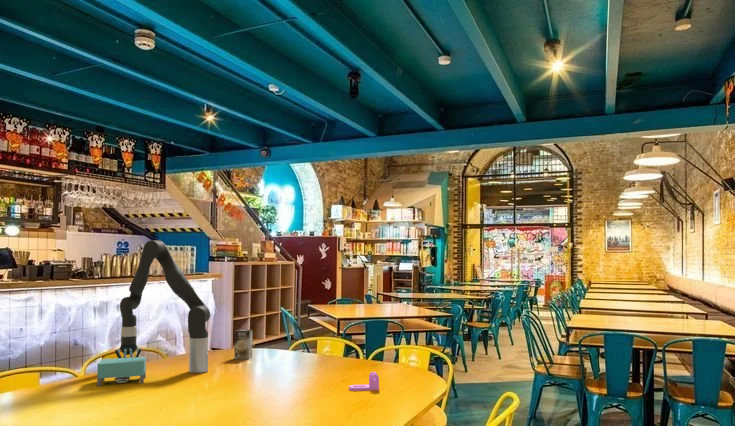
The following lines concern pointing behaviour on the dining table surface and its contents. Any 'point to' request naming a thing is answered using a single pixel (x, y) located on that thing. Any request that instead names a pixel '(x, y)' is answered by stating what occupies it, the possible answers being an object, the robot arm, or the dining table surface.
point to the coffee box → (243, 344)
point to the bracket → (371, 386)
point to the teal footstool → (121, 368)
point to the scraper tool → (123, 377)
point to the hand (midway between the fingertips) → (127, 368)
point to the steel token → (121, 380)
